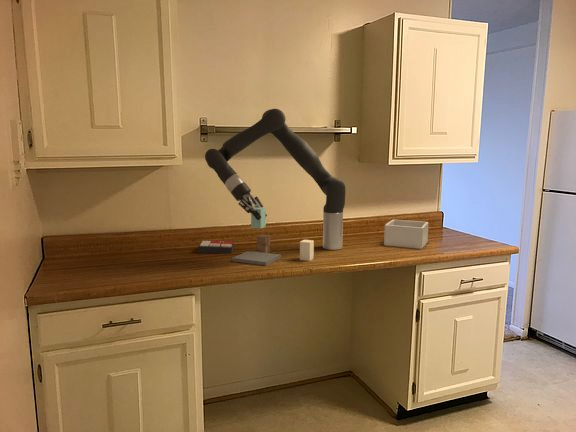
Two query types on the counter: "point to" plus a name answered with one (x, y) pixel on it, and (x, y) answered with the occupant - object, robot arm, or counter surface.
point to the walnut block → (263, 243)
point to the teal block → (262, 221)
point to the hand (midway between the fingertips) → (262, 217)
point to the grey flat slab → (256, 258)
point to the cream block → (306, 250)
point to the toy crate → (406, 234)
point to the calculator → (216, 247)
